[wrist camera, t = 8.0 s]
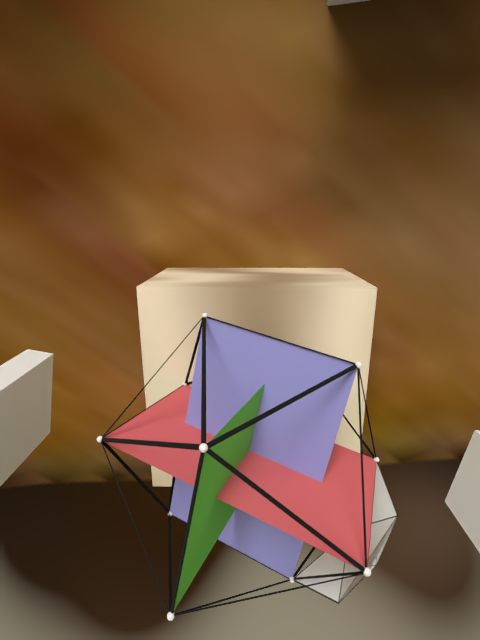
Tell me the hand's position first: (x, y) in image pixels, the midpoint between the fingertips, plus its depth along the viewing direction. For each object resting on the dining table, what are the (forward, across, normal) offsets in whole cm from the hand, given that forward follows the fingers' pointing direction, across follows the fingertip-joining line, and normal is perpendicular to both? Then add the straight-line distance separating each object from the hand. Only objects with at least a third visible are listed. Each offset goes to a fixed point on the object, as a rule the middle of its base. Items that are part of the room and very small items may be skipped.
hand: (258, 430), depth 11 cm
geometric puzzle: (+2, 0, 0) cm, 2 cm away
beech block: (+7, 0, 0) cm, 7 cm away
